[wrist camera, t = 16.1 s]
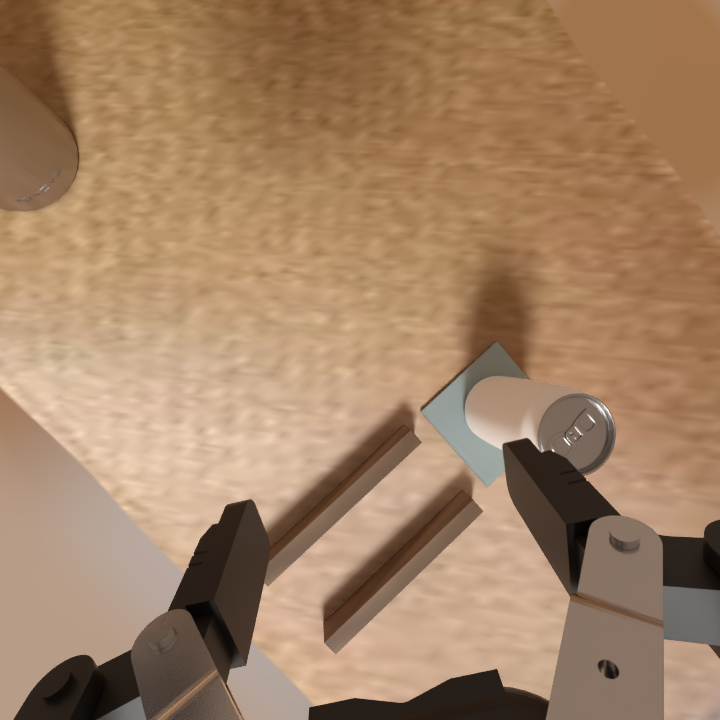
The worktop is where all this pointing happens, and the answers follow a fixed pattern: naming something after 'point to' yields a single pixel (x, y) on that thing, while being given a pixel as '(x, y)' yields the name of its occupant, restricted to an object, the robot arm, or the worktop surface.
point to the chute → (399, 566)
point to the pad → (450, 413)
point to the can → (542, 419)
